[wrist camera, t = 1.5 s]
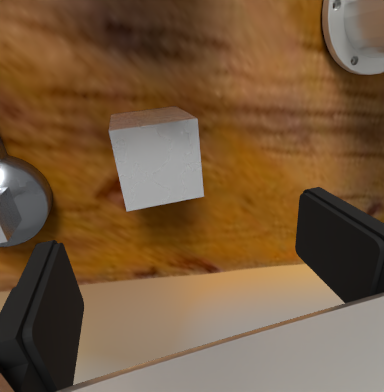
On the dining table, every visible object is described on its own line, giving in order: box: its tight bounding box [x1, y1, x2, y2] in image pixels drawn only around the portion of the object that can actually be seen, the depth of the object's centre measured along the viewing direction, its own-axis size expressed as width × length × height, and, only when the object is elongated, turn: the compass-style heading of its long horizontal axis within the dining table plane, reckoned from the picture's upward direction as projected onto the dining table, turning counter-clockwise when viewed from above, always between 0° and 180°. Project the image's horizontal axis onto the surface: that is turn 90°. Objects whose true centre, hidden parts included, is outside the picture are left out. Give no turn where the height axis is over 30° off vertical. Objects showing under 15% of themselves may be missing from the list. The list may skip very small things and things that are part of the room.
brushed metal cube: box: [109, 106, 204, 211], centre depth 23 cm, size 6×6×8 cm
